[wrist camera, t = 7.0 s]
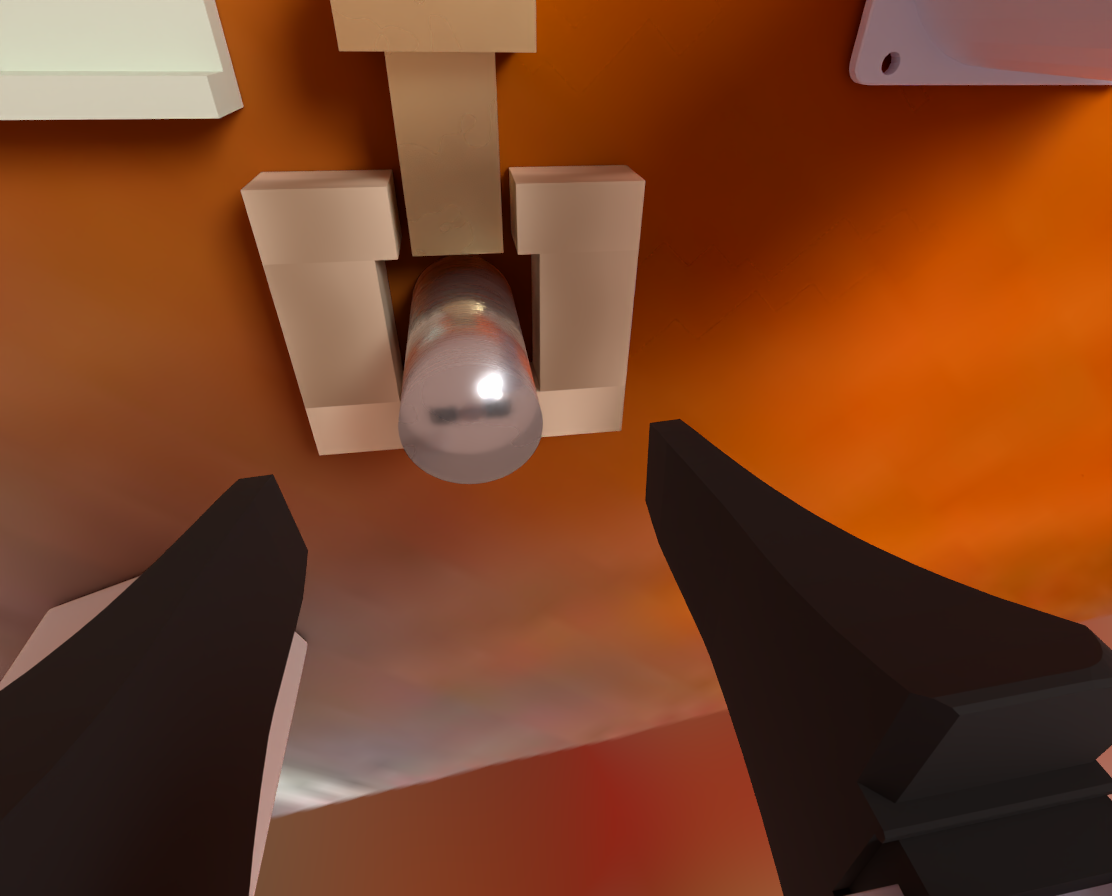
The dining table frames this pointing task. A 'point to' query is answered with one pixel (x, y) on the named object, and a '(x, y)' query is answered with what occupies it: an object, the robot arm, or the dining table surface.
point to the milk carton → (82, 610)
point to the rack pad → (114, 60)
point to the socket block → (366, 307)
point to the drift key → (444, 108)
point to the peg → (467, 376)
